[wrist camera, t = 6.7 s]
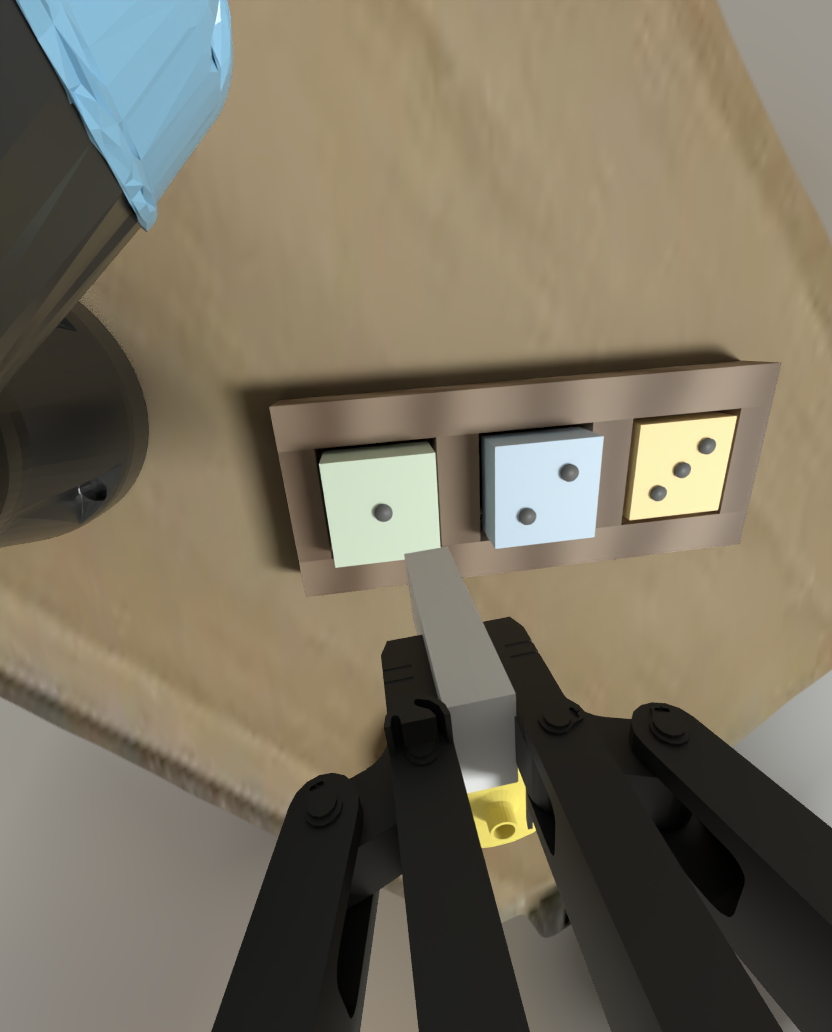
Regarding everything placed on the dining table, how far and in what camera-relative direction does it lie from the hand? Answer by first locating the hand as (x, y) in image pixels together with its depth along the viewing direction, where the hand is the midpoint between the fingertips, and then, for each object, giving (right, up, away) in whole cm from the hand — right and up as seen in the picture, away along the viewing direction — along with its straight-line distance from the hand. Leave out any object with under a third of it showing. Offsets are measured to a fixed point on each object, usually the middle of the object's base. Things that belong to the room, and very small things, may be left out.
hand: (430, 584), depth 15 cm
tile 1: (-3, +4, +12) cm, 13 cm away
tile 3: (+16, +6, +15) cm, 23 cm away
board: (+7, +5, +15) cm, 17 cm away
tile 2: (+7, +5, +13) cm, 15 cm away
